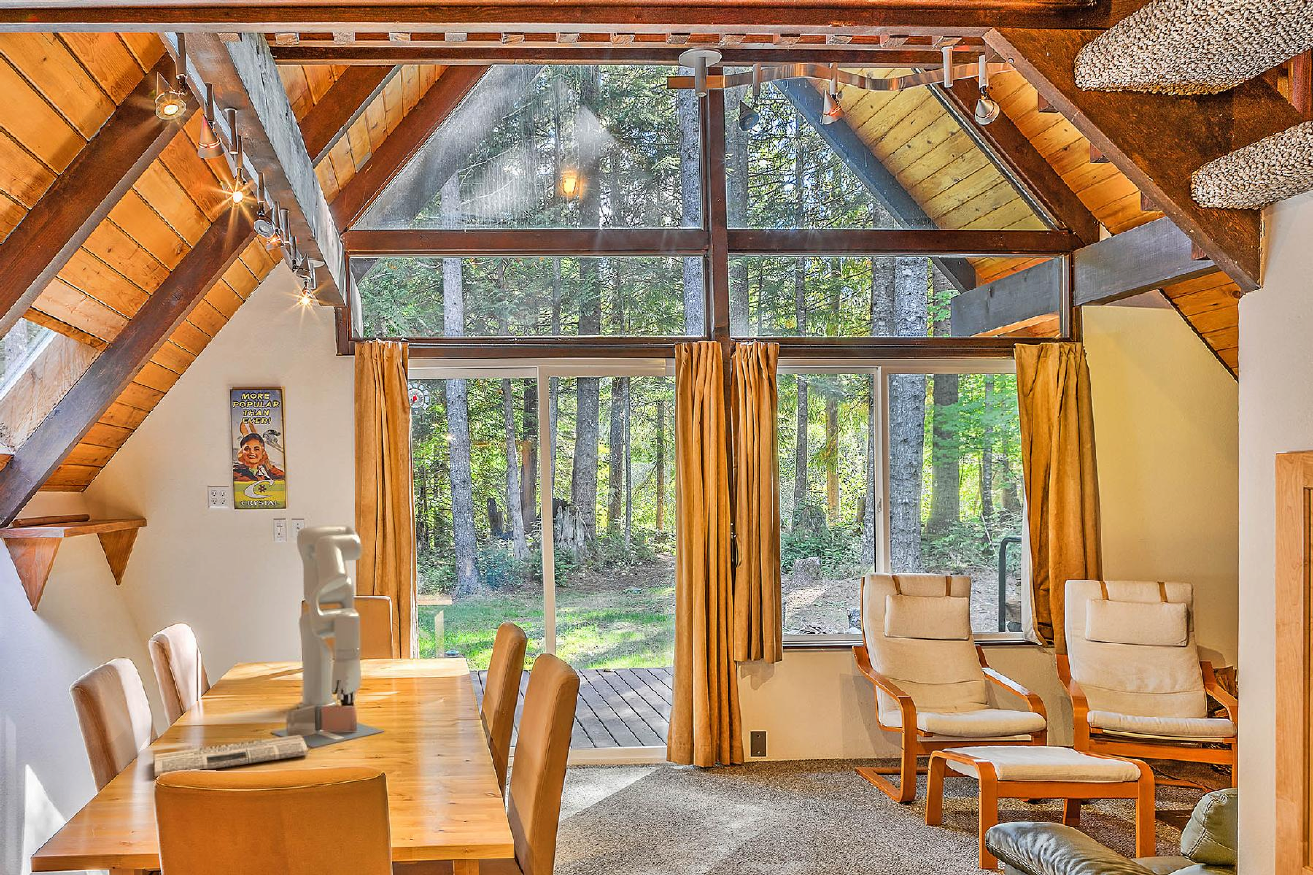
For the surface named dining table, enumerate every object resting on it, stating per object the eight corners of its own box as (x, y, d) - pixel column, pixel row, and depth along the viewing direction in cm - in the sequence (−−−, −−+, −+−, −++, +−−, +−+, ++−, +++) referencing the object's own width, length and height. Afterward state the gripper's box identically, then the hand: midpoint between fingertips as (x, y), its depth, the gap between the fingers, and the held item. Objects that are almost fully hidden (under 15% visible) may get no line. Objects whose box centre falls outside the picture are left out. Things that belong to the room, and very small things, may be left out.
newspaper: (154, 779, 253) (154, 768, 253) (154, 760, 270) (154, 750, 270) (307, 757, 269) (307, 746, 269) (298, 740, 286) (298, 730, 287)
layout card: (267, 733, 296) (267, 732, 296) (340, 718, 313) (340, 717, 313) (309, 749, 278) (309, 747, 278) (384, 732, 295) (384, 730, 295)
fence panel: (313, 730, 295) (313, 706, 296) (317, 729, 297) (316, 705, 298) (355, 731, 293) (354, 707, 294) (358, 729, 295) (357, 705, 296)
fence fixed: (286, 737, 290) (285, 711, 290) (312, 732, 296) (311, 706, 296) (289, 738, 289) (289, 712, 289) (315, 733, 294) (315, 707, 295)
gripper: (347, 649, 307) (348, 709, 306) (322, 659, 292) (323, 722, 292) (370, 649, 305) (370, 710, 305) (346, 659, 291) (347, 723, 290)
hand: (347, 716), depth 298 cm, fingers closed
